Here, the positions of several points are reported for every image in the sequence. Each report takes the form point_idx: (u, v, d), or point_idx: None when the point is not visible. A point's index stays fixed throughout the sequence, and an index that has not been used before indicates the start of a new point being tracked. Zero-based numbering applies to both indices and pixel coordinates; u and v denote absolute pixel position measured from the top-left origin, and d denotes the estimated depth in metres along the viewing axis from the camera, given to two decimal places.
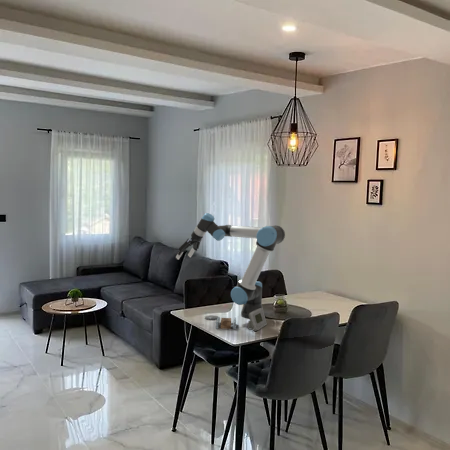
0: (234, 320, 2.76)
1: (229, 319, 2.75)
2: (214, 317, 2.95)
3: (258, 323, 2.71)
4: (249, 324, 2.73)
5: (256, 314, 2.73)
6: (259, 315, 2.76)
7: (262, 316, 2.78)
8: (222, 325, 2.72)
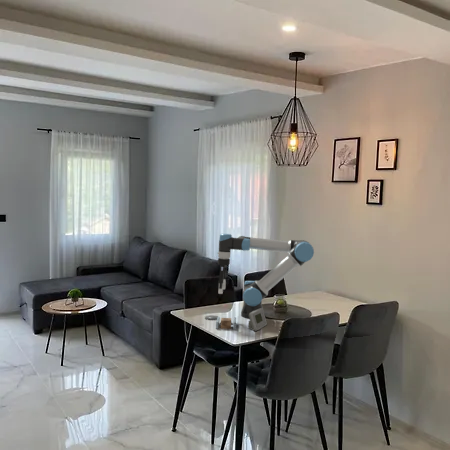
0: (234, 320, 2.76)
1: (229, 319, 2.75)
2: (214, 317, 2.95)
3: (258, 323, 2.71)
4: (249, 324, 2.73)
5: (256, 314, 2.73)
6: (259, 315, 2.75)
7: (262, 316, 2.78)
8: (222, 325, 2.72)
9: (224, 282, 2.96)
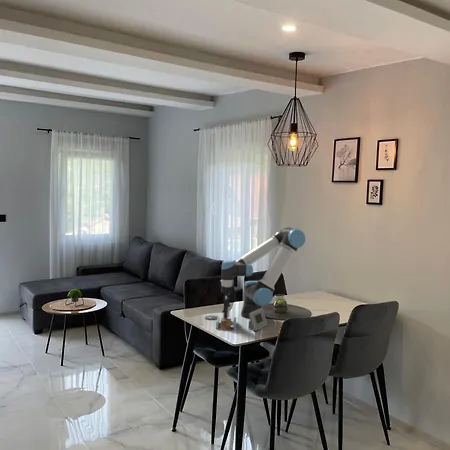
0: (234, 320, 2.76)
1: (229, 319, 2.74)
2: (214, 317, 2.95)
3: (258, 323, 2.71)
4: (249, 324, 2.73)
5: (256, 314, 2.72)
6: (259, 315, 2.75)
7: (262, 316, 2.78)
8: (222, 325, 2.71)
9: (228, 310, 2.90)
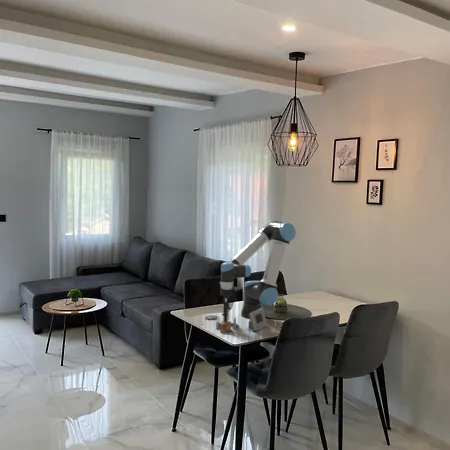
0: (234, 320, 2.76)
1: (229, 322, 2.67)
2: (214, 317, 2.95)
3: (258, 323, 2.71)
4: (249, 324, 2.73)
5: (256, 314, 2.72)
6: (259, 315, 2.75)
7: (262, 316, 2.78)
8: (222, 329, 2.65)
9: (227, 312, 2.84)
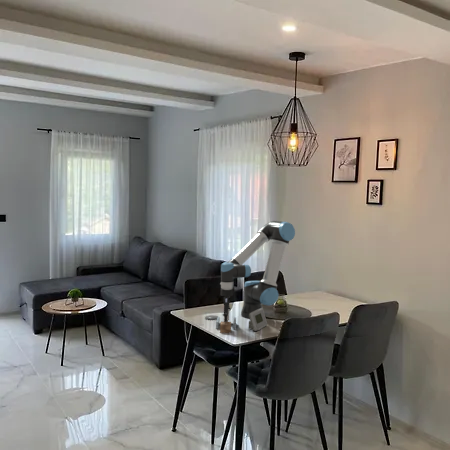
0: (234, 320, 2.76)
1: (229, 323, 2.67)
2: (214, 317, 2.95)
3: (258, 323, 2.71)
4: (249, 324, 2.73)
5: (256, 314, 2.72)
6: (259, 315, 2.75)
7: (263, 316, 2.78)
8: (222, 329, 2.64)
9: (228, 313, 2.83)
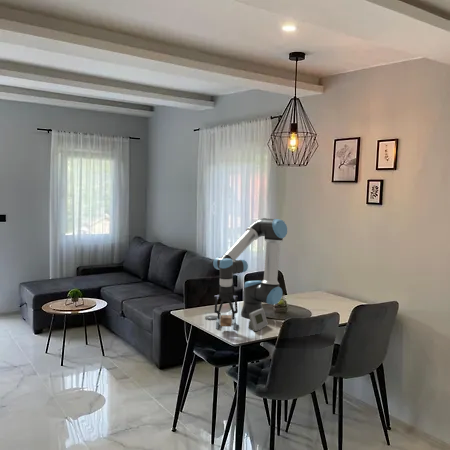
0: (234, 320, 2.76)
1: (229, 316, 2.67)
2: (214, 317, 2.95)
3: (258, 323, 2.71)
4: (249, 324, 2.72)
5: (256, 314, 2.72)
6: (260, 315, 2.75)
7: (263, 316, 2.77)
8: (222, 323, 2.64)
9: (231, 317, 2.65)
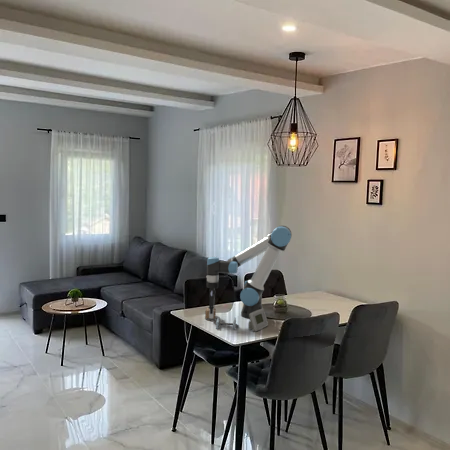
0: (234, 320, 2.76)
1: None
2: None
3: (258, 324, 2.70)
4: (249, 324, 2.72)
5: (257, 314, 2.72)
6: (260, 316, 2.74)
7: (263, 317, 2.77)
8: (214, 315, 2.93)
9: None
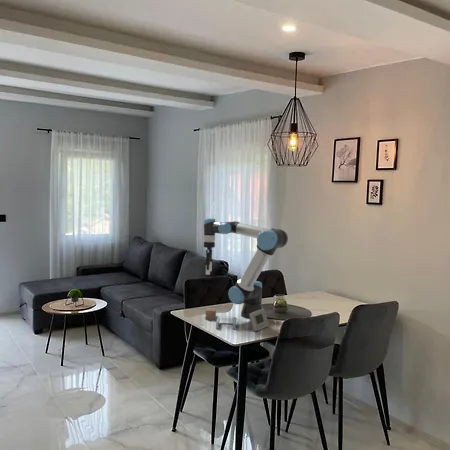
0: (234, 320, 2.76)
1: (210, 308, 2.96)
2: None
3: (258, 324, 2.70)
4: (250, 324, 2.72)
5: (257, 315, 2.71)
6: (260, 316, 2.74)
7: (263, 317, 2.76)
8: (215, 315, 2.93)
9: (210, 264, 3.14)
